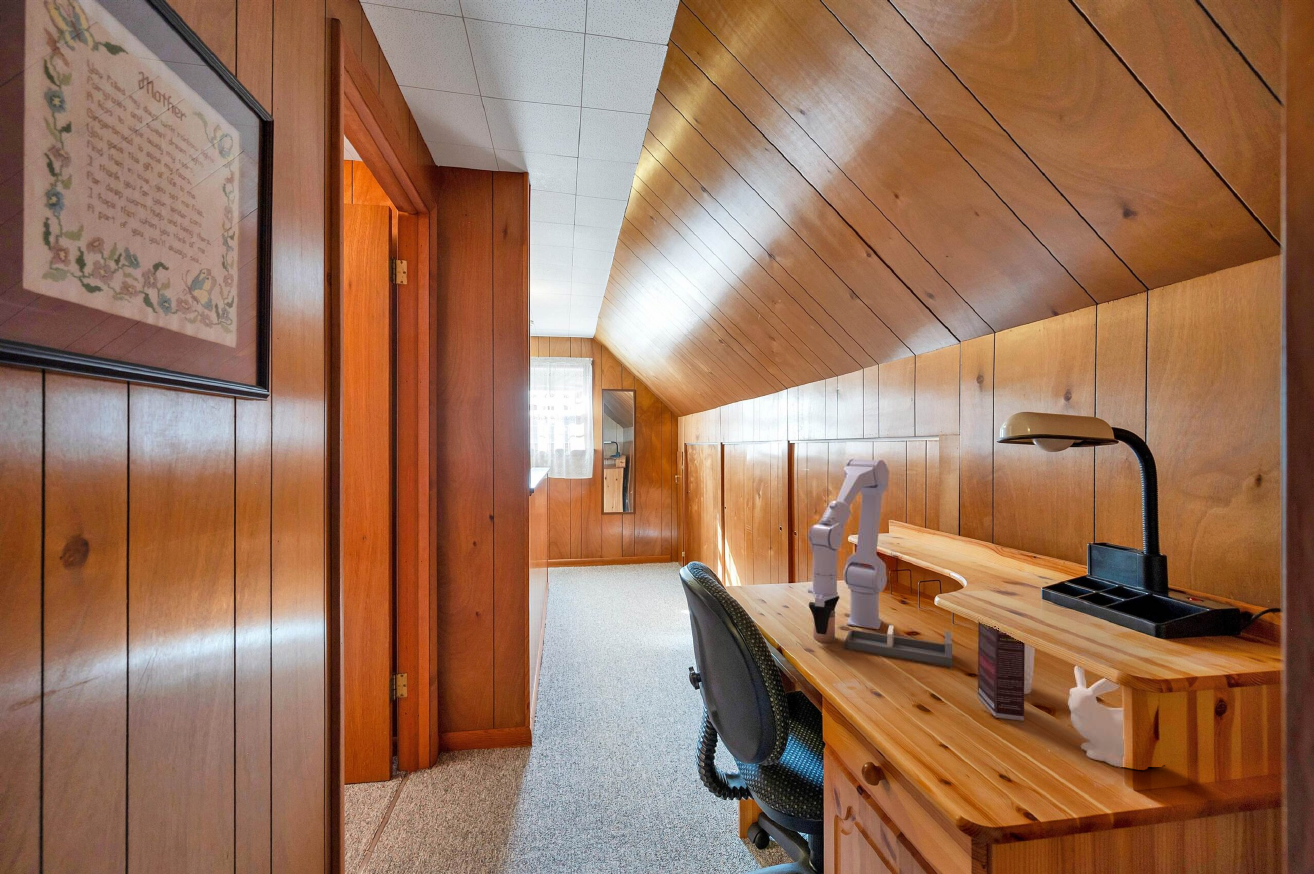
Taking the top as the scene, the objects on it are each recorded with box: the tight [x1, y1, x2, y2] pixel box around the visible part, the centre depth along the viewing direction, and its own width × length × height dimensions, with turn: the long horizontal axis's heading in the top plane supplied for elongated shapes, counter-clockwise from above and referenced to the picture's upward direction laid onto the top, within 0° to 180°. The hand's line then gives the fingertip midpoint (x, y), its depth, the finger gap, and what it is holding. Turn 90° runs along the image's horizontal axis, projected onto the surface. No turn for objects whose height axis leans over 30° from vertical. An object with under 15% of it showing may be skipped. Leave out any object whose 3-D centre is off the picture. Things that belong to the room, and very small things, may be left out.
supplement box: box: [977, 621, 1025, 722], centre depth 98 cm, size 9×5×16 cm, turn 168°
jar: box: [812, 610, 836, 644], centre depth 133 cm, size 5×5×7 cm
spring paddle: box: [886, 624, 895, 647], centre depth 126 cm, size 7×1×4 cm, turn 153°
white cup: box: [1024, 644, 1036, 695], centre depth 107 cm, size 8×8×10 cm
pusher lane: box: [844, 628, 953, 668], centre depth 126 cm, size 9×22×5 cm, turn 63°
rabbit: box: [1067, 665, 1124, 767], centre depth 83 cm, size 12×9×12 cm
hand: (824, 629), depth 133 cm, fingers open, 7 cm apart
